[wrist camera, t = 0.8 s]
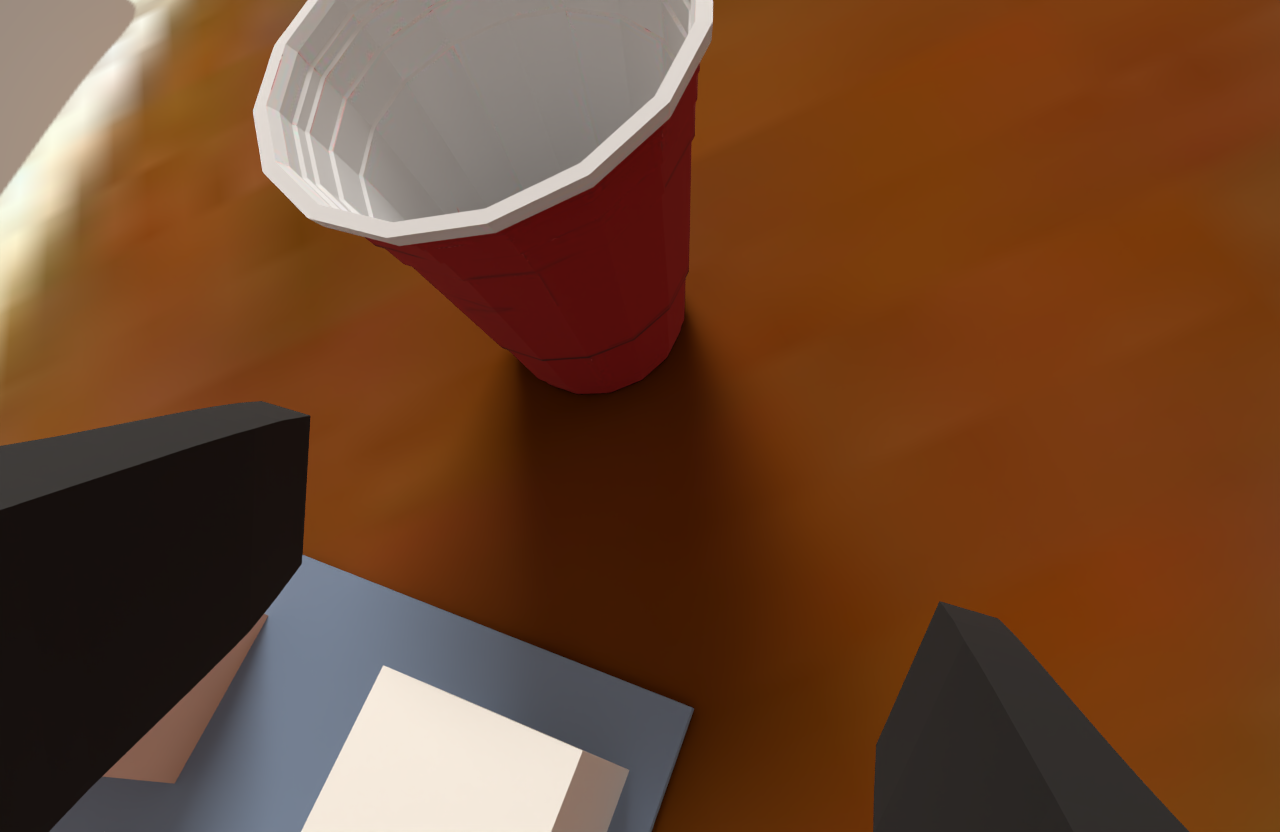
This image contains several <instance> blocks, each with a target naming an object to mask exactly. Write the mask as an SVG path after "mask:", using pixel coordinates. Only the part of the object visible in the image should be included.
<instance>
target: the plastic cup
mask: <svg viewBox="0 0 1280 832" xmlns="http://www.w3.org/2000/svg"><path fill="white" fill-rule="evenodd" d="M712 25H713V0H308V1H307V2H306V4H305V5H304V6H303V8H302V9H301V10H300V12H299V13H298V14H297V16H296V17H295V18H294V20H293V21H292V22H291V24H290V25H289V26H288V28H287V29H286V30H285V32H284V33H283V34H282V36H281V37H280V38H279V40H278V41H277V42H276V44H275V45H274V48H273V51H272V54H271V57H270V60H269V63H268V66H267V69H266V72H265V75H264V78H263V82H262V85H261V88H260V91H259V94H258V97H257V100H256V103H255V106H254V109H253V115H254V121H255V127H256V133H257V140H258V146H259V152H260V158H261V164H262V171H263V173H264V174H265V175H266V176H267V177H268V178H269V179H270V180H271V181H272V182H273V183H274V184H275V185H276V186H277V187H278V188H279V189H280V190H281V191H282V192H283V193H284V194H285V195H286V196H287V197H288V198H289V199H290V200H291V201H292V202H293V203H294V204H295V205H296V206H297V207H298V208H299V210H300V211H301V212H302V213H303V214H304V215H305V216H306V217H307V218H309V219H311V220H312V221H314V222H316V223H318V224H320V225H322V226H324V227H328V228H332V229H336V230H340V231H343V232H347V233H351V234H355V235H359V236H363V237H365V238H366V239H368V240H369V241H370V242H371V243H373V244H374V245H375V246H378V247H382V248H385V249H386V250H387V251H389V252H390V253H391V254H392V255H393V256H395V257H396V258H397V259H398V260H400V261H401V262H402V263H403V264H405V265H409V266H412V267H413V268H414V269H415V270H417V271H418V272H419V273H420V274H421V275H422V276H423V277H424V278H425V279H426V280H428V281H429V282H430V283H431V284H432V285H433V286H434V287H435V288H436V289H438V290H439V291H440V292H441V293H442V294H443V295H444V296H445V297H446V298H448V299H449V300H450V301H451V302H452V303H453V304H454V305H455V306H456V307H457V308H459V309H460V310H461V311H462V312H463V313H464V314H465V315H466V316H467V317H469V318H470V319H471V320H472V321H473V322H474V323H475V324H476V325H477V326H479V327H480V328H481V329H482V330H483V331H484V332H485V333H486V334H487V335H489V336H490V337H491V338H492V339H493V340H494V341H495V342H496V343H497V344H498V345H500V346H501V347H502V348H504V349H507V350H509V351H510V352H511V353H512V354H513V355H514V356H515V357H516V358H517V359H518V360H519V361H520V362H521V363H522V364H523V365H525V366H526V367H527V368H528V369H529V370H530V371H531V372H532V373H533V374H534V375H535V376H536V377H537V378H538V379H540V380H543V381H546V382H547V383H548V384H549V385H552V386H555V387H558V388H561V389H564V390H567V391H570V392H573V393H576V394H592V393H611V392H613V391H616V390H618V389H621V388H623V387H626V386H628V385H631V384H633V383H635V382H638V381H640V380H643V379H644V378H645V377H646V376H647V375H648V374H649V373H650V372H652V371H653V370H654V369H655V368H656V367H657V366H658V365H659V364H660V363H662V362H663V361H664V360H665V359H666V358H667V357H668V355H669V353H670V351H671V349H672V347H673V345H674V343H675V341H676V339H677V337H678V335H679V333H680V331H681V325H682V323H683V321H684V313H685V278H686V276H687V274H688V272H689V238H690V186H691V142H692V140H693V138H694V136H695V102H696V100H697V86H698V73H699V71H700V61H701V59H702V57H703V55H704V53H705V51H706V50H707V48H708V46H709V44H710V42H711V37H712Z"/></svg>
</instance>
